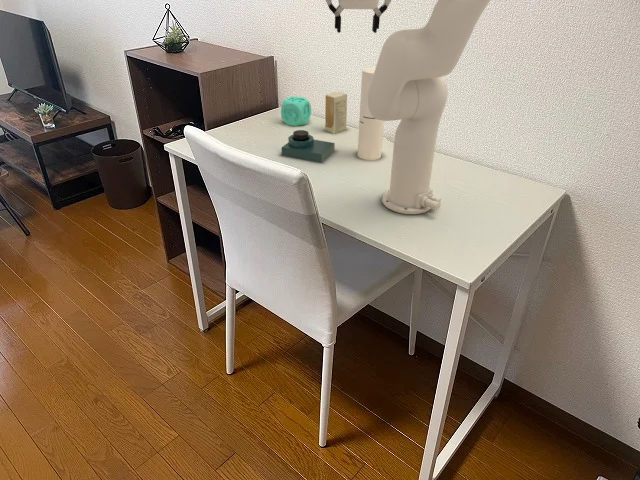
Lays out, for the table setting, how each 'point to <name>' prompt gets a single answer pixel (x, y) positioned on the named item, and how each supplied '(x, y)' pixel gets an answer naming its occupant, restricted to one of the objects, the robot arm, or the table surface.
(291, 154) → the base
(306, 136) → the button
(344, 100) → the cosmetic box
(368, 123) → the cylindrical container
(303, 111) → the decorative dice
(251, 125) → the table surface
